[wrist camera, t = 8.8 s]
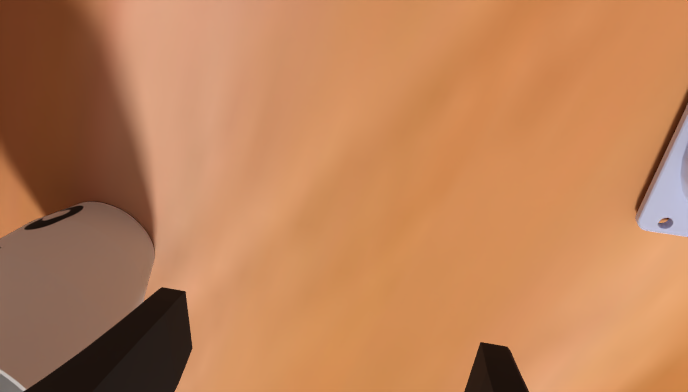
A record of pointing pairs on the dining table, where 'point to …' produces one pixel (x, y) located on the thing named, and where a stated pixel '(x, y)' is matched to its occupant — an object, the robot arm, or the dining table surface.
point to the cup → (67, 287)
